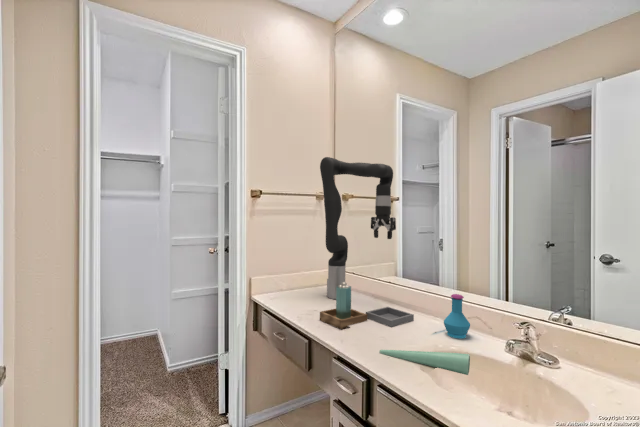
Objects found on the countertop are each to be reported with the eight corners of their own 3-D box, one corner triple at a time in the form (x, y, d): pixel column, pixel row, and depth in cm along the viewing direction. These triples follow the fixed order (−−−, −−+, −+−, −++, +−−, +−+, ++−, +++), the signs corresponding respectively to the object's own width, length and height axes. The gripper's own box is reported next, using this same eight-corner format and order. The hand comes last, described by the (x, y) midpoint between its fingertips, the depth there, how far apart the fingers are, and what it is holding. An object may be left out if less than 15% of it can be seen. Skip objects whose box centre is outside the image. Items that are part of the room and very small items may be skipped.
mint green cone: (382, 334, 111) (470, 351, 97) (382, 350, 111) (470, 370, 97) (376, 339, 106) (468, 358, 93) (376, 356, 106) (468, 378, 93)
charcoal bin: (365, 320, 141) (365, 311, 141) (387, 314, 149) (387, 306, 149) (391, 329, 130) (391, 320, 130) (413, 322, 138) (413, 314, 138)
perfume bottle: (465, 331, 129) (465, 292, 129) (473, 340, 120) (474, 298, 120) (440, 330, 130) (441, 291, 130) (447, 339, 121) (447, 297, 121)
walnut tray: (319, 320, 140) (319, 311, 140) (344, 314, 148) (344, 306, 148) (341, 329, 129) (341, 320, 129) (367, 322, 137) (367, 314, 137)
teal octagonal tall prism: (333, 318, 139) (333, 281, 139) (344, 316, 143) (344, 279, 143) (342, 322, 134) (343, 284, 134) (353, 319, 138) (354, 282, 138)
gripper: (367, 205, 166) (366, 237, 166) (389, 204, 155) (388, 239, 155) (377, 205, 171) (377, 237, 171) (399, 205, 159) (399, 239, 159)
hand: (382, 238), depth 163 cm, fingers open, 8 cm apart
